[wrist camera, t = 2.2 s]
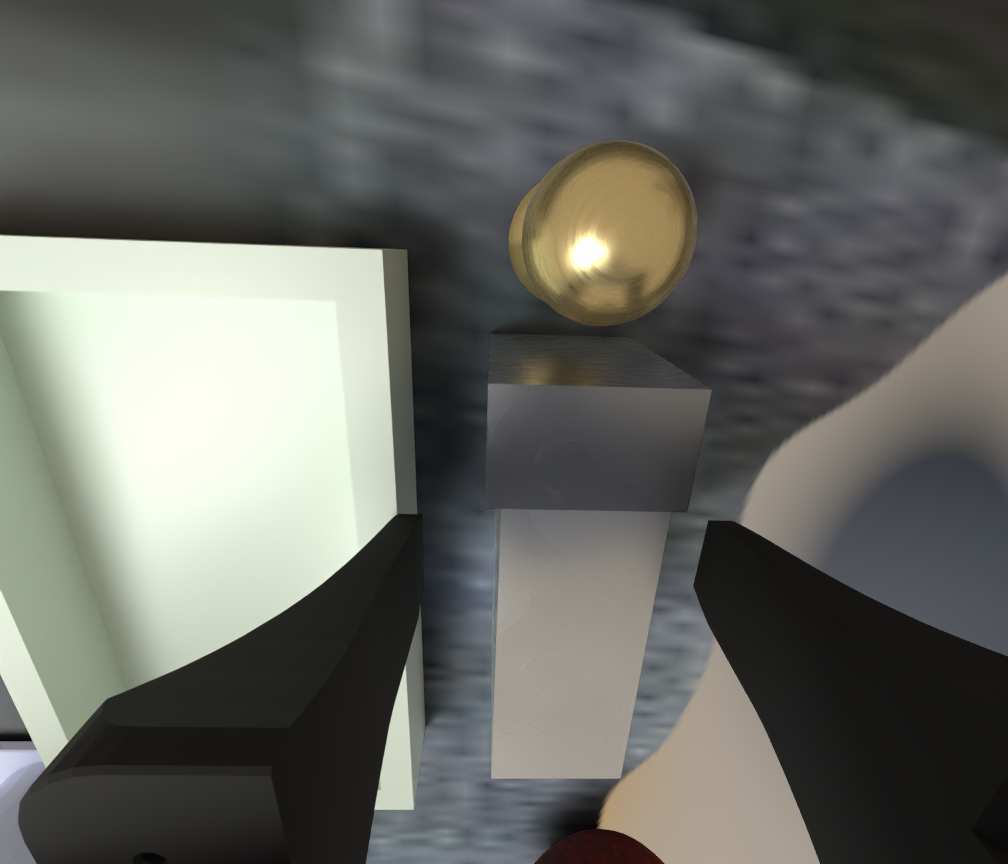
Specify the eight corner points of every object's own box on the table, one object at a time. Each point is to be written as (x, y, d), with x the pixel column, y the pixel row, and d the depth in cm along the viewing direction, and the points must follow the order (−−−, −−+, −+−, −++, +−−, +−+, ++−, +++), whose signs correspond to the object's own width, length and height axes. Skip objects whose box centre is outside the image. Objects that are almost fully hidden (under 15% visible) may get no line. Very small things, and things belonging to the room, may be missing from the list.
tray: (425, 727, 18) (414, 809, 15) (129, 726, 17) (66, 810, 15) (407, 249, 12) (382, 249, 9) (-52, 232, 11) (-216, 228, 9)
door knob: (620, 306, 12) (714, 349, 7) (505, 302, 12) (515, 344, 7) (636, 177, 11) (762, 113, 6) (510, 171, 11) (525, 103, 6)
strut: (592, 626, 16) (632, 778, 12) (482, 625, 16) (479, 778, 11) (630, 337, 13) (712, 390, 8) (489, 332, 12) (487, 383, 8)
